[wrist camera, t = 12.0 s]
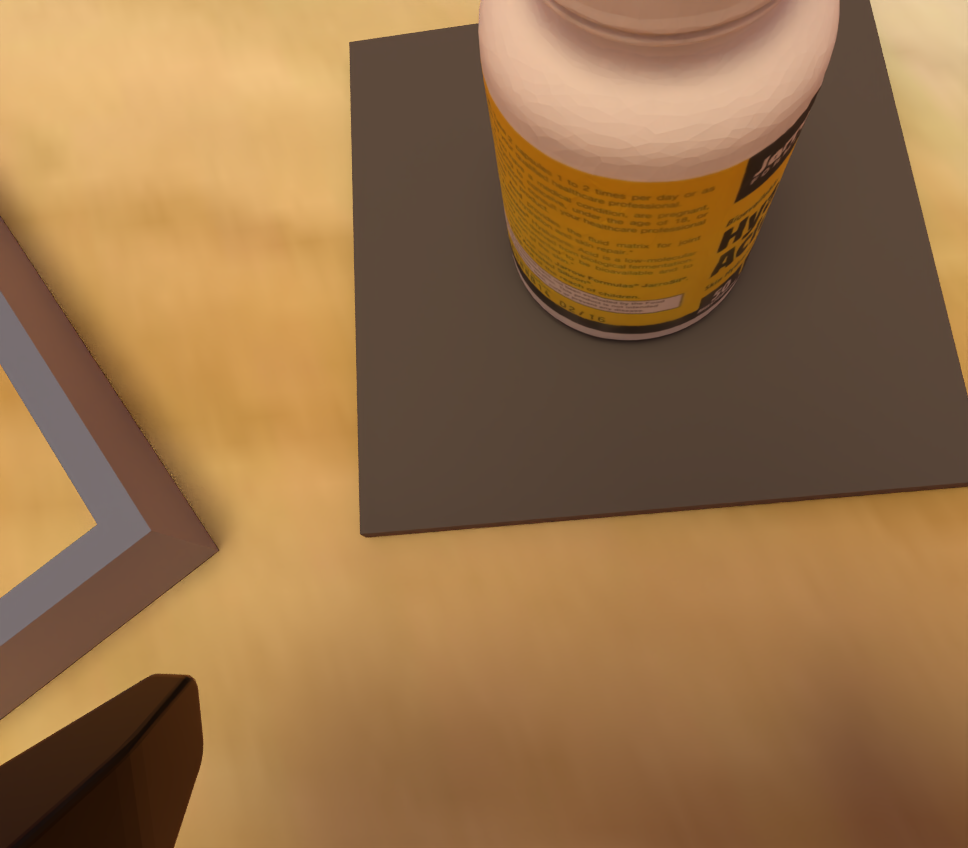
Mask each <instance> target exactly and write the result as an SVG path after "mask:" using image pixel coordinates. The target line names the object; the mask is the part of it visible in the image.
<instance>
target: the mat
mask: <svg viewBox="0 0 968 848" xmlns="http://www.w3.org/2000/svg"><path fill="white" fill-rule="evenodd" d="M839 1H840V4H839V23H838V31H837V37H836V41H835V45H834V48H833V51H832V55H831V58H830V61H829V64H828V67H827V69H826V72H825V74H824V78H823V82H822V86H821V88H820V90H819V92H818V94H817V96H816V99H815V101H814V103H813V105H812V107H811V109H810V112H809V114H808V117H807V119H806V121H805V124H804V126H803V128H802V130H801V132H800V135H799V137H798V139H797V142H796V144H795V147H794V149H793V151H792V154H791V156H790V158H789V161H788V163H787V165H786V168H785V170H784V173H783V175H782V178H781V180H780V182H779V185H778V187H777V190H776V192H775V194H774V197H773V199H772V202H771V204H770V207H769V209H768V211H767V214H766V216H765V218H764V221H763V223H762V226H761V228H760V230H759V233H758V235H757V238H756V240H755V243H754V245H753V248H752V250H751V252H750V255H749V257H748V259H747V262H746V264H745V266H744V268H743V270H742V272H741V274H740V276H739V278H738V279H737V281H736V283H735V284H734V286H733V287H732V289H731V290H730V292H729V293H728V294H727V295H726V297H725V298H724V299H723V300H722V301H721V302H720V303H719V304H718V305H717V306H716V307H715V308H714V309H713V310H712V311H711V312H709V313H708V314H707V315H706V316H704V317H703V318H701V319H700V320H698V321H697V322H695V323H693V324H691V325H690V326H688V327H686V328H684V329H681V330H679V331H677V332H674V333H671V334H668V335H664V336H660V337H656V338H650V339H642V340H615V339H606V338H600V337H596V336H592V335H589V334H586V333H583V332H580V331H578V330H576V329H574V328H572V327H570V326H568V325H566V324H564V323H563V322H561V321H559V320H558V319H556V318H555V317H554V316H552V315H551V314H550V313H548V312H547V311H546V310H545V309H544V308H543V307H542V306H541V305H540V304H539V303H538V302H537V301H536V300H535V299H534V298H533V296H532V295H531V293H530V292H529V291H528V289H527V288H526V286H525V284H524V283H523V281H522V279H521V277H520V274H519V272H518V270H517V267H516V264H515V261H514V258H513V254H512V250H511V246H510V241H509V235H508V229H507V223H506V217H505V211H504V205H503V198H502V191H501V185H500V179H499V173H498V167H497V160H496V153H495V147H494V140H493V134H492V128H491V122H490V116H489V110H488V104H487V98H486V92H485V86H484V79H483V73H482V66H481V59H480V46H479V33H478V28H479V23H478V24H471V25H464V26H457V27H450V28H443V29H437V30H430V31H423V32H416V33H409V34H402V35H395V36H389V37H382V38H375V39H368V40H361V41H354V42H349V46H350V92H351V138H352V184H353V230H354V275H355V321H356V367H357V413H358V459H359V505H360V534H361V535H363V536H365V537H376V536H388V535H400V534H412V533H424V532H435V531H447V530H459V529H471V528H483V527H494V526H506V525H518V524H530V523H542V522H553V521H565V520H577V519H589V518H601V517H612V516H624V515H636V514H648V513H660V512H671V511H683V510H695V509H707V508H719V507H731V506H742V505H754V504H766V503H778V502H790V501H801V500H813V499H825V498H837V497H849V496H860V495H872V494H884V493H896V492H908V491H919V490H931V489H943V488H955V487H967V486H968V395H967V391H966V387H965V383H964V379H963V375H962V371H961V367H960V363H959V359H958V355H957V351H956V347H955V343H954V339H953V335H952V331H951V327H950V323H949V319H948V315H947V311H946V307H945V303H944V299H943V295H942V291H941V287H940V283H939V278H938V274H937V270H936V266H935V262H934V258H933V254H932V250H931V246H930V242H929V238H928V234H927V230H926V226H925V222H924V218H923V214H922V210H921V206H920V202H919V198H918V194H917V190H916V186H915V182H914V178H913V174H912V170H911V165H910V161H909V157H908V153H907V149H906V145H905V141H904V137H903V133H902V129H901V125H900V121H899V117H898V113H897V109H896V105H895V101H894V97H893V93H892V89H891V85H890V81H889V77H888V73H887V69H886V65H885V61H884V57H883V53H882V48H881V44H880V40H879V36H878V32H877V28H876V24H875V20H874V16H873V12H872V8H871V4H870V0H839Z"/></svg>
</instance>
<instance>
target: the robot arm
mask: <svg viewBox="0 0 968 848" xmlns="http://www.w3.org/2000/svg"><path fill="white" fill-rule="evenodd" d="M202 755H203V733H202V723H201V713H200V703H199V693H198V686H197V684H196V681H195V679H194V678H192V677H191V676H190V675H178V674H154V675H151V676H149V677H147V678H145V679H144V680H142V681H140V682H139V683H137V684H135V685H134V686H132V687H130V688H129V689H127V690H125V691H124V692H122V693H120V694H119V695H117V696H115V697H114V698H112V699H110V700H109V701H107V702H105V703H104V704H102V705H100V706H99V707H97V708H96V709H94V710H92V711H91V712H89V713H87V714H86V715H84V716H82V717H81V718H79V719H77V720H76V721H74V722H72V723H71V724H69V725H67V726H66V727H64V728H62V729H61V730H59V731H57V732H56V733H54V734H52V735H51V736H49V737H47V738H46V739H44V740H42V741H41V742H39V743H37V744H36V745H34V746H32V747H31V748H29V749H27V750H26V751H24V752H22V753H21V754H19V755H18V756H16V757H14V758H13V759H11V760H9V761H8V762H6V763H4V764H3V765H1V766H0V848H174V846H175V843H176V840H177V837H178V834H179V831H180V827H181V824H182V821H183V818H184V815H185V812H186V809H187V806H188V803H189V800H190V797H191V794H192V790H193V787H194V784H195V781H196V778H197V775H198V772H199V769H200V765H201V761H202Z"/></svg>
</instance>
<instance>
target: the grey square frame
mask: <svg viewBox="0 0 968 848" xmlns="http://www.w3.org/2000/svg"><path fill="white" fill-rule="evenodd" d="M0 364H1V366H2V368H3V369H4V371H5V373H6V374H7V376H8V378H9V379H10V381H11V383H12V384H13V386H14V387H15V389H16V391H17V392H18V394H19V396H20V397H21V399H22V401H23V402H24V404H25V406H26V407H27V409H28V411H29V412H30V414H31V416H32V417H33V419H34V420H35V422H36V424H37V425H38V427H39V429H40V430H41V432H42V434H43V435H44V437H45V439H46V440H47V442H48V444H49V445H50V447H51V449H52V450H53V452H54V453H55V455H56V457H57V458H58V460H59V462H60V463H61V465H62V467H63V468H64V470H65V472H66V473H67V475H68V477H69V478H70V480H71V482H72V483H73V485H74V486H75V488H76V490H77V491H78V493H79V495H80V496H81V498H82V500H83V501H84V503H85V505H86V506H87V508H88V510H89V511H90V513H91V515H92V516H93V518H94V520H95V521H96V523H97V525H96V526H95V527H93V528H92V529H91V530H90V531H88V532H87V533H86V534H84V535H83V536H82V537H80V538H79V539H78V540H76V541H75V542H74V543H72V544H71V545H70V546H68V547H67V548H66V549H65V550H63V551H62V552H61V553H59V554H58V555H57V556H55V557H54V558H53V559H51V560H50V561H49V562H47V563H46V564H45V565H43V566H42V567H41V568H40V569H38V570H37V571H36V572H34V573H33V574H32V575H30V576H29V577H28V578H26V579H25V580H24V581H22V582H21V583H20V584H18V585H17V586H16V587H14V588H13V589H12V590H11V591H9V592H8V593H7V594H5V595H4V596H3V597H1V598H0V719H2V718H3V717H4V716H5V715H7V714H8V713H9V712H11V711H12V710H13V709H15V708H16V707H17V706H18V705H20V704H21V703H22V702H24V701H25V700H26V699H27V698H29V697H30V696H31V695H33V694H34V693H35V692H37V691H38V690H39V689H40V688H42V687H43V686H44V685H46V684H47V683H48V682H49V681H51V680H52V679H53V678H55V677H56V676H57V675H58V674H60V673H61V672H62V671H64V670H65V669H66V668H68V667H69V666H70V665H71V664H73V663H74V662H75V661H77V660H78V659H79V658H80V657H82V656H83V655H84V654H86V653H87V652H88V651H90V650H91V649H92V648H93V647H95V646H96V645H97V644H99V643H100V642H101V641H102V640H104V639H105V638H106V637H108V636H109V635H110V634H111V633H113V632H114V631H115V630H117V629H118V628H119V627H121V626H122V625H123V624H124V623H126V622H127V621H128V620H130V619H131V618H132V617H133V616H135V615H136V614H137V613H139V612H140V611H141V610H143V609H144V608H145V607H146V606H148V605H149V604H150V603H152V602H153V601H154V600H155V599H157V598H158V597H159V596H161V595H162V594H163V593H164V592H166V591H167V590H168V589H170V588H171V587H172V586H174V585H175V584H176V583H177V582H179V581H180V580H181V579H183V578H184V577H185V576H186V575H188V574H189V573H190V572H192V571H193V570H194V569H195V568H197V567H198V566H199V565H201V564H202V563H203V562H205V561H206V560H207V559H208V558H210V557H211V556H212V555H214V554H215V553H216V552H217V551H219V550H218V548H217V547H216V545H215V544H214V542H213V541H212V539H211V538H210V536H209V535H208V533H207V532H206V530H205V528H204V527H203V525H202V524H201V522H200V521H199V519H198V518H197V516H196V515H195V513H194V512H193V510H192V509H191V507H190V506H189V504H188V502H187V501H186V499H185V498H184V496H183V495H182V493H181V492H180V490H179V489H178V487H177V486H176V484H175V483H174V481H173V480H172V478H171V476H170V475H169V473H168V472H167V470H166V469H165V467H164V466H163V464H162V463H161V461H160V460H159V458H158V457H157V455H156V454H155V452H154V450H153V449H152V447H151V446H150V444H149V443H148V441H147V440H146V438H145V437H144V435H143V434H142V432H141V431H140V429H139V428H138V426H137V424H136V423H135V421H134V420H133V418H132V417H131V415H130V414H129V412H128V411H127V409H126V408H125V406H124V405H123V403H122V402H121V400H120V398H119V397H118V395H117V394H116V392H115V391H114V389H113V388H112V386H111V385H110V383H109V382H108V380H107V379H106V377H105V376H104V374H103V372H102V371H101V369H100V368H99V366H98V365H97V363H96V362H95V360H94V359H93V357H92V356H91V354H90V353H89V351H88V350H87V348H86V347H85V345H84V343H83V342H82V340H81V339H80V337H79V336H78V334H77V333H76V331H75V330H74V328H73V327H72V325H71V324H70V322H69V321H68V319H67V317H66V316H65V314H64V313H63V311H62V310H61V308H60V307H59V305H58V304H57V302H56V301H55V299H54V298H53V296H52V295H51V293H50V291H49V290H48V288H47V287H46V285H45V284H44V282H43V281H42V279H41V278H40V276H39V275H38V273H37V272H36V270H35V269H34V267H33V265H32V264H31V262H30V261H29V259H28V258H27V256H26V255H25V253H24V252H23V250H22V249H21V247H20V246H19V244H18V243H17V241H16V239H15V238H14V236H13V235H12V233H11V232H10V230H9V229H8V227H7V226H6V224H5V223H4V221H3V220H2V218H1V217H0Z"/></svg>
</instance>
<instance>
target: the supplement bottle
mask: <svg viewBox="0 0 968 848" xmlns="http://www.w3.org/2000/svg"><path fill="white" fill-rule="evenodd" d="M839 4H840V1H839V0H481V3H480V9H479V28H478V33H479V46H480V59H481V66H482V73H483V79H484V86H485V92H486V98H487V104H488V110H489V116H490V122H491V128H492V134H493V140H494V147H495V153H496V160H497V167H498V173H499V179H500V185H501V191H502V198H503V205H504V211H505V217H506V223H507V229H508V235H509V241H510V246H511V250H512V254H513V258H514V261H515V264H516V267H517V270H518V272H519V274H520V277H521V279H522V281H523V283H524V284H525V286H526V288H527V289H528V291H529V292H530V293H531V295H532V296H533V298H534V299H535V300H536V301H537V302H538V303H539V304H540V305H541V306H542V307H543V308H544V309H545V310H546V311H547V312H548V313H550V314H551V315H552V316H554V317H555V318H556V319H558V320H559V321H561V322H563V323H564V324H566V325H568V326H570V327H572V328H574V329H576V330H578V331H580V332H583V333H586V334H589V335H592V336H596V337H600V338H606V339H615V340H642V339H650V338H656V337H660V336H664V335H668V334H671V333H674V332H677V331H679V330H681V329H684V328H686V327H688V326H690V325H691V324H693V323H695V322H697V321H698V320H700V319H701V318H703V317H704V316H706V315H707V314H708V313H709V312H711V311H712V310H713V309H714V308H715V307H716V306H717V305H718V304H719V303H720V302H721V301H722V300H723V299H724V298H725V297H726V295H727V294H728V293H729V292H730V290H731V289H732V287H733V286H734V284H735V283H736V281H737V279H738V278H739V276H740V274H741V272H742V270H743V268H744V266H745V264H746V262H747V259H748V257H749V255H750V252H751V250H752V248H753V245H754V243H755V240H756V238H757V235H758V233H759V230H760V228H761V226H762V223H763V221H764V218H765V216H766V214H767V211H768V209H769V207H770V204H771V202H772V199H773V197H774V194H775V192H776V190H777V187H778V185H779V182H780V180H781V178H782V175H783V173H784V170H785V168H786V165H787V163H788V161H789V158H790V156H791V154H792V151H793V149H794V147H795V144H796V142H797V139H798V137H799V135H800V132H801V130H802V128H803V126H804V124H805V121H806V119H807V117H808V114H809V112H810V109H811V107H812V105H813V103H814V101H815V99H816V96H817V94H818V92H819V90H820V88H821V86H822V82H823V78H824V74H825V72H826V69H827V67H828V64H829V61H830V58H831V55H832V51H833V48H834V45H835V41H836V37H837V31H838V23H839Z"/></svg>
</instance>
